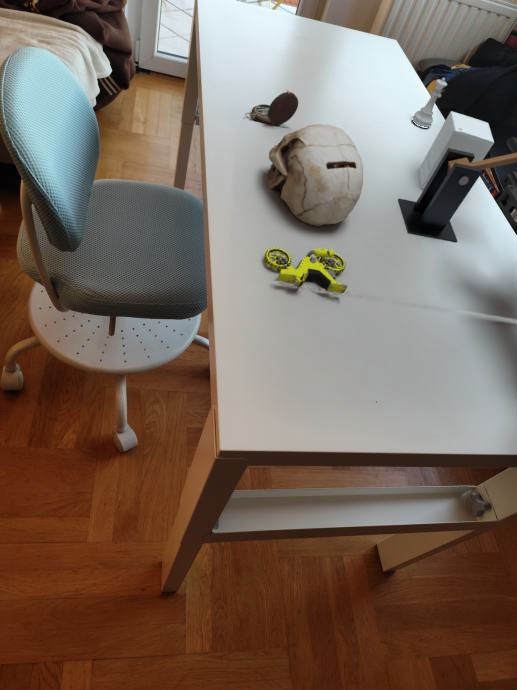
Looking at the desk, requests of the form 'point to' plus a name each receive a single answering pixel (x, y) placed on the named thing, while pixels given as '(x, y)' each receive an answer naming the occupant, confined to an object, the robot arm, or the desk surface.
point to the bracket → (440, 198)
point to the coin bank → (317, 173)
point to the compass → (276, 110)
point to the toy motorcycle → (309, 268)
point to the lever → (513, 144)
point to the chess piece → (429, 106)
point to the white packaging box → (456, 142)
